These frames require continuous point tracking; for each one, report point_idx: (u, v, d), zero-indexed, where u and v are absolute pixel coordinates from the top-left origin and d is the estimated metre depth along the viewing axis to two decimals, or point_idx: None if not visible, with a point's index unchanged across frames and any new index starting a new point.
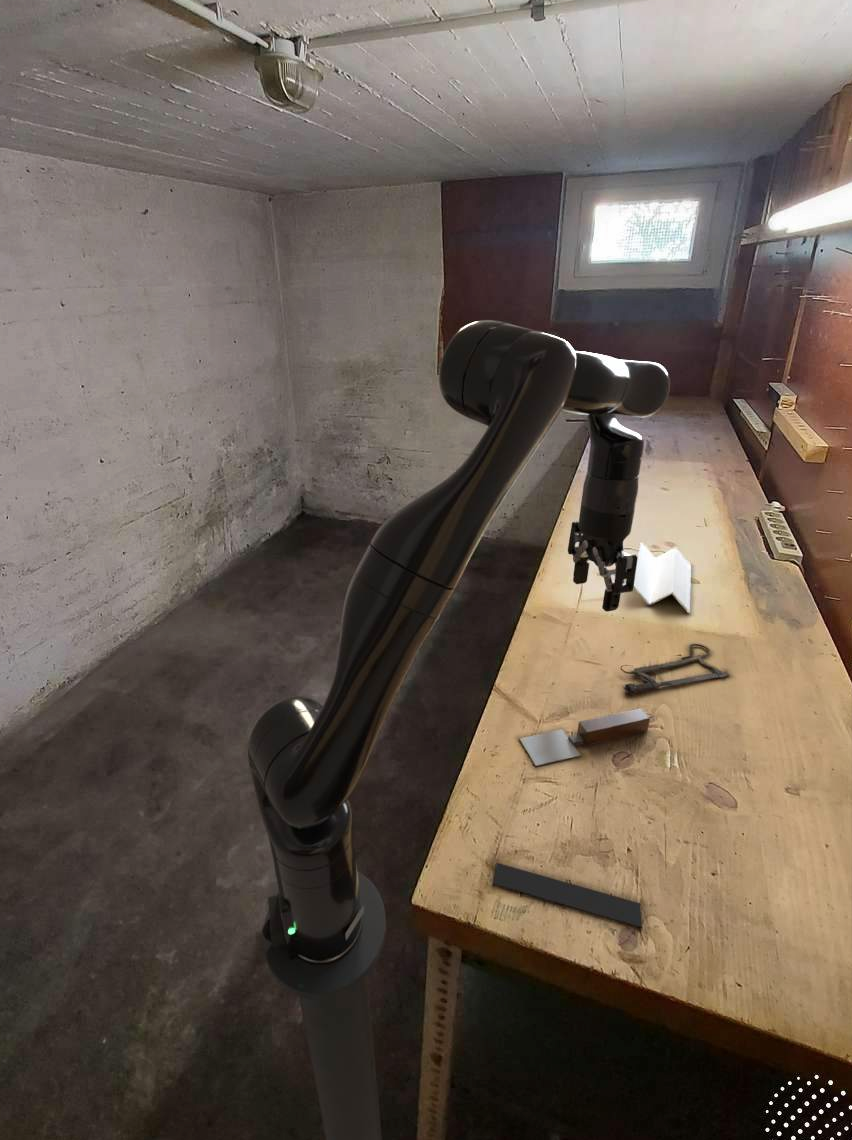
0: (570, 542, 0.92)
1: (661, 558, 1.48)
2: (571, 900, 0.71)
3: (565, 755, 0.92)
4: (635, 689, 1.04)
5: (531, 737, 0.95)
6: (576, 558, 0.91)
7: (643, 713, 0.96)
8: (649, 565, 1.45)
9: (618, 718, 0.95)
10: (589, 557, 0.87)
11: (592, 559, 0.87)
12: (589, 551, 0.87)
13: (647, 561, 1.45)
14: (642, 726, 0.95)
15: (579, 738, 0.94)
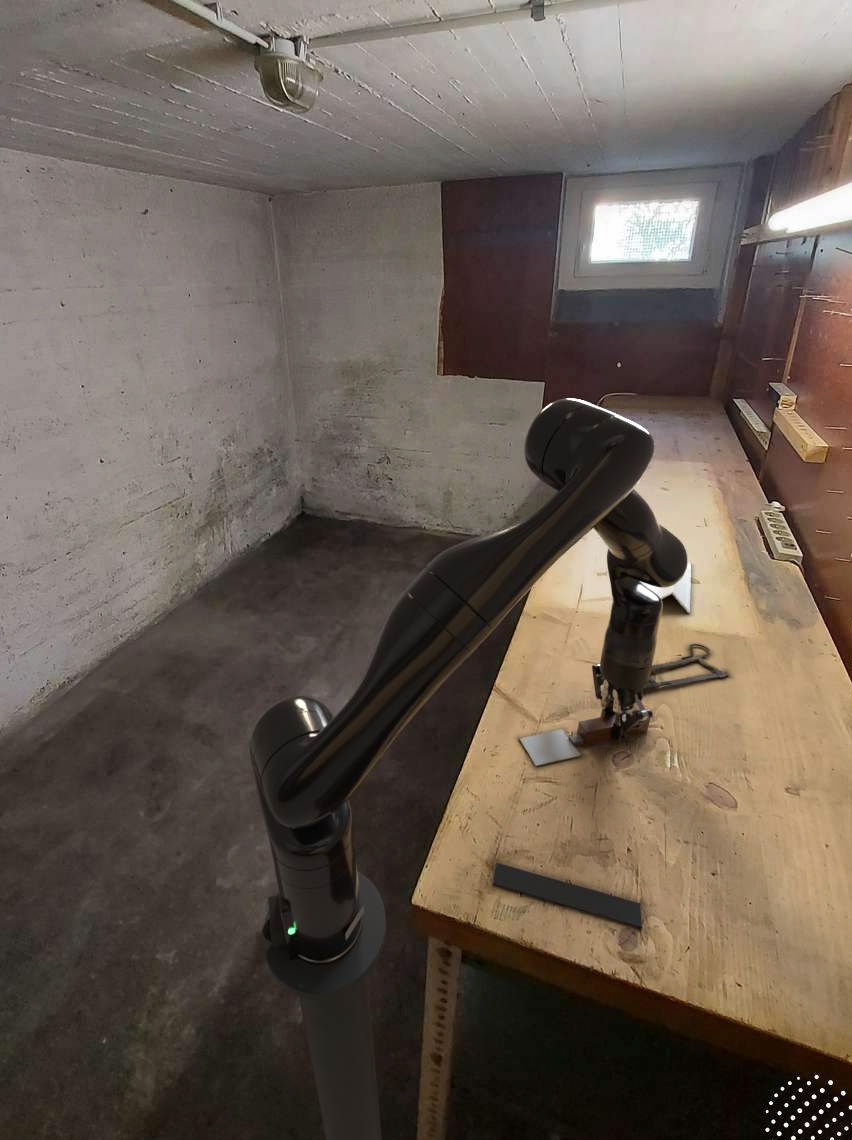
0: (595, 686, 0.97)
1: None
2: (571, 900, 0.71)
3: (565, 755, 0.92)
4: None
5: (531, 737, 0.95)
6: (604, 705, 0.95)
7: None
8: None
9: None
10: (609, 694, 0.93)
11: (612, 697, 0.92)
12: None
13: None
14: (642, 726, 0.95)
15: (579, 738, 0.94)
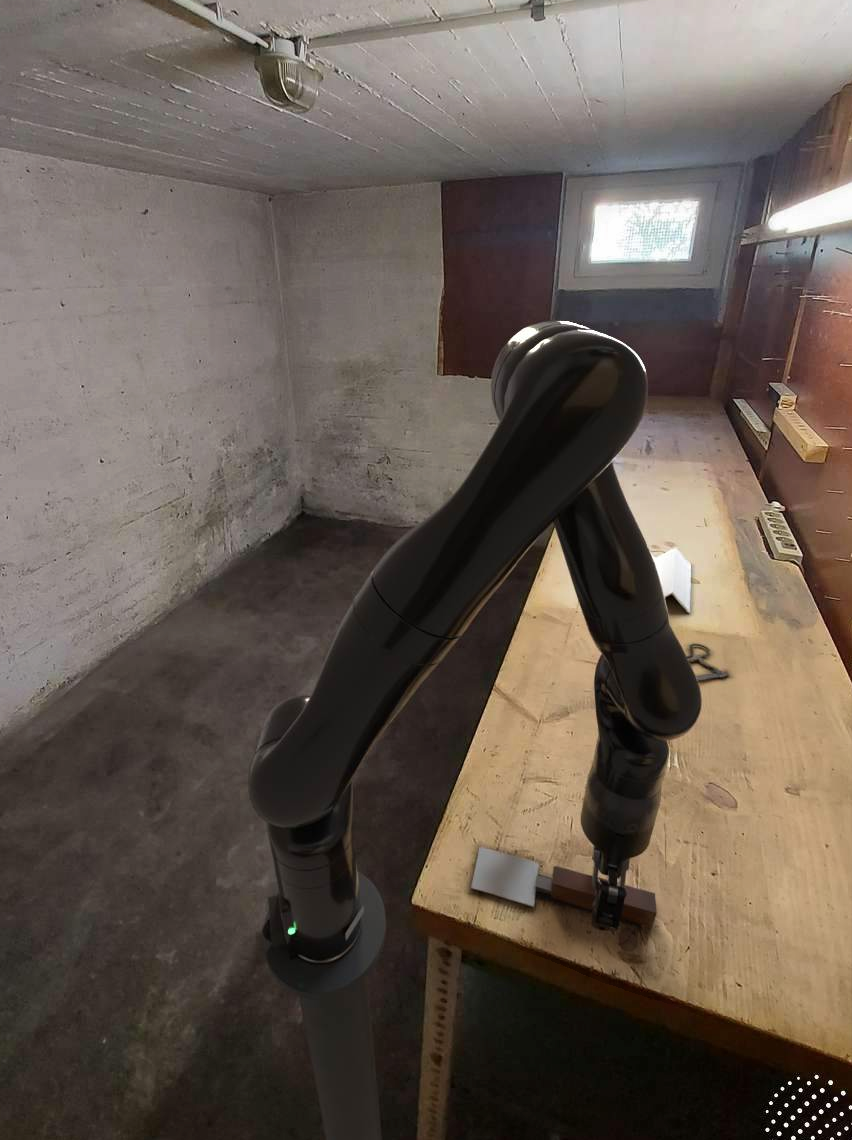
0: None
1: (661, 558, 1.48)
2: None
3: (515, 896, 0.71)
4: None
5: (493, 852, 0.76)
6: None
7: (651, 902, 0.67)
8: None
9: None
10: None
11: None
12: None
13: None
14: (643, 918, 0.67)
15: (546, 885, 0.72)
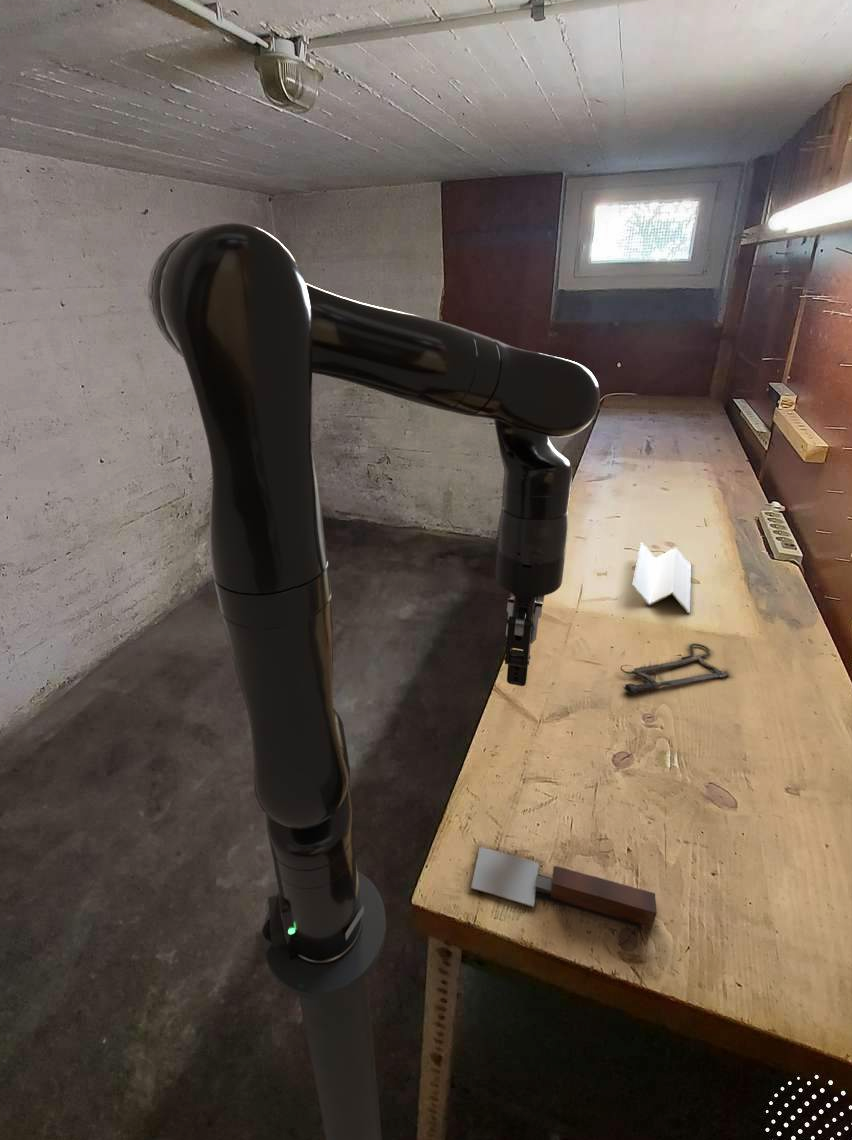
0: None
1: (661, 558, 1.48)
2: None
3: (515, 896, 0.71)
4: (635, 689, 1.04)
5: (493, 852, 0.76)
6: None
7: (651, 902, 0.67)
8: (649, 565, 1.45)
9: (610, 889, 0.69)
10: None
11: None
12: None
13: (647, 561, 1.45)
14: (643, 918, 0.67)
15: (546, 885, 0.72)
